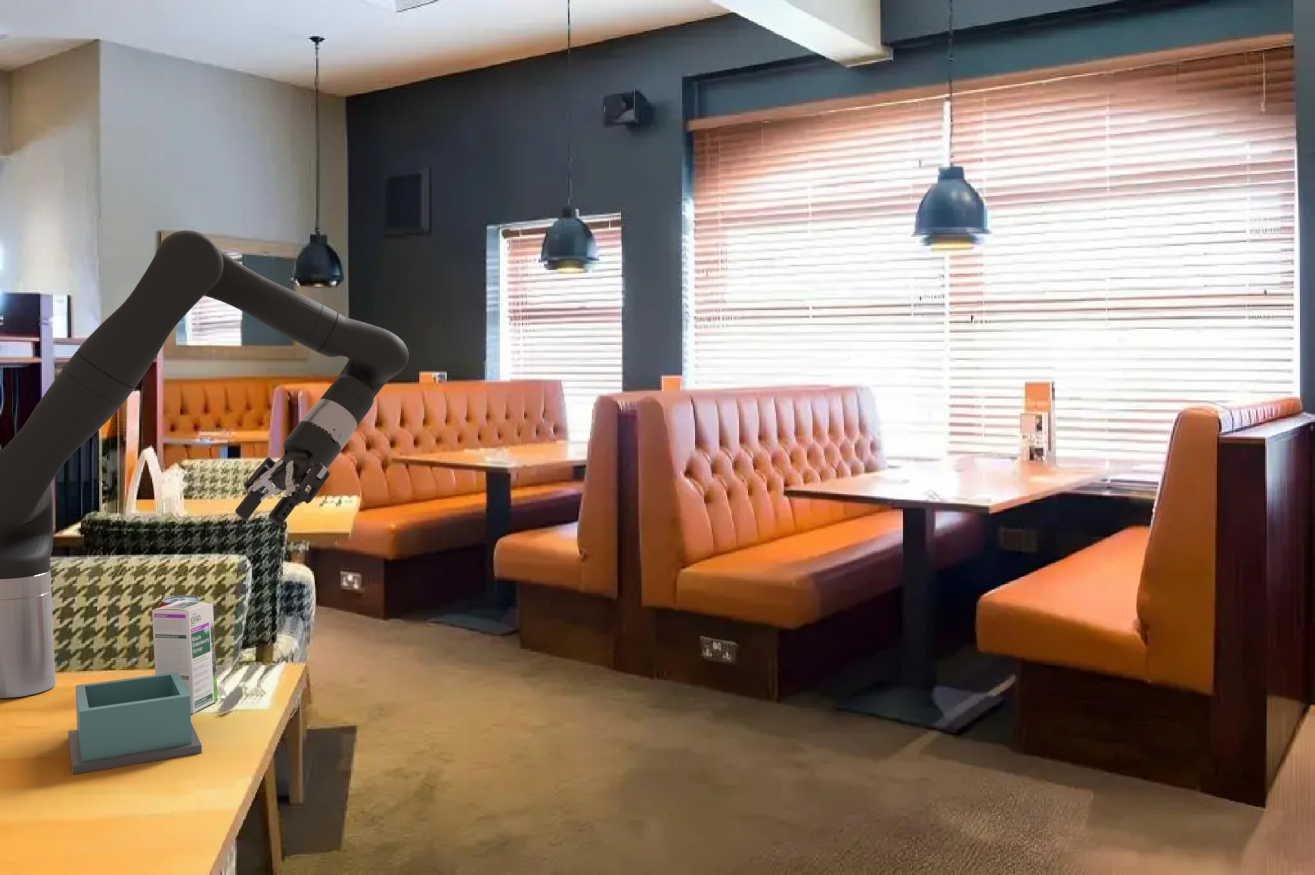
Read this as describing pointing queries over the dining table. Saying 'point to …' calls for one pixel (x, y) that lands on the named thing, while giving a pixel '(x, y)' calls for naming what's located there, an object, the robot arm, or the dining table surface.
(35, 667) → the robot arm
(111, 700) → the teal square open box
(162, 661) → the syrup box
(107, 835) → the dining table surface
